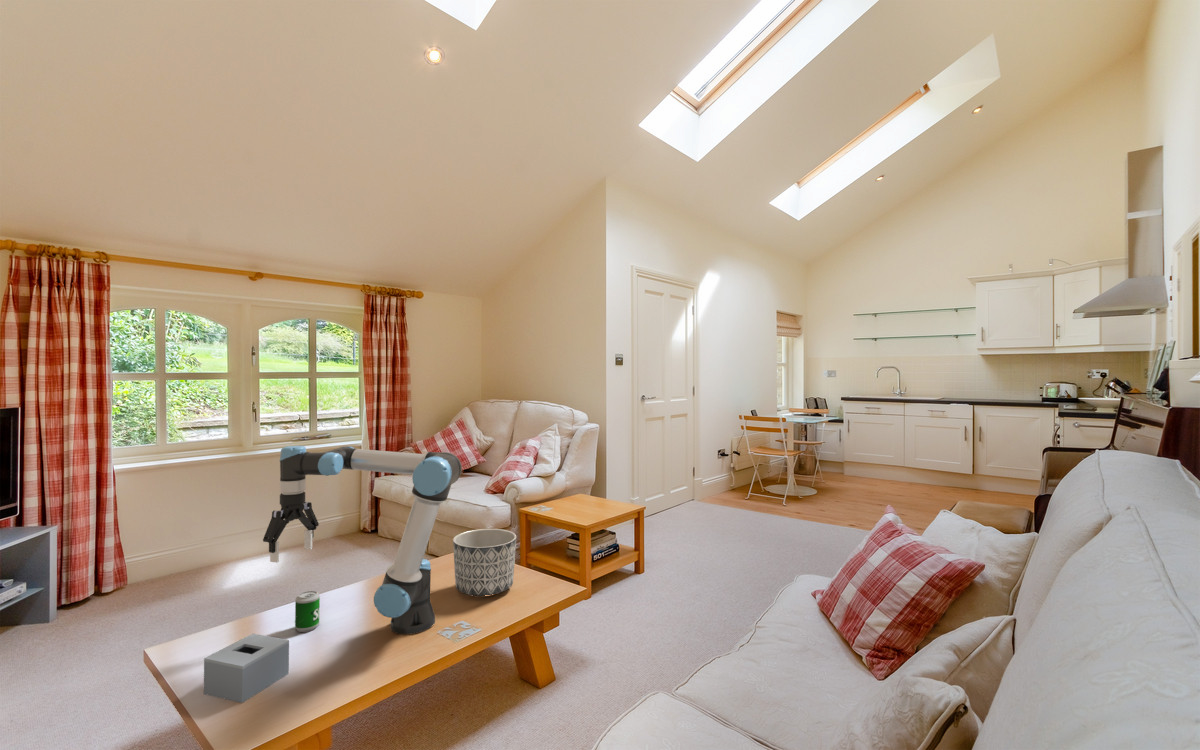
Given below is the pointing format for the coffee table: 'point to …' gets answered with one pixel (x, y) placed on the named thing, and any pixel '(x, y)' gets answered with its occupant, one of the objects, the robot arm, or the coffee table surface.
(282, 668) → the box
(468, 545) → the planter
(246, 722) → the coffee table surface
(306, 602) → the soda can
